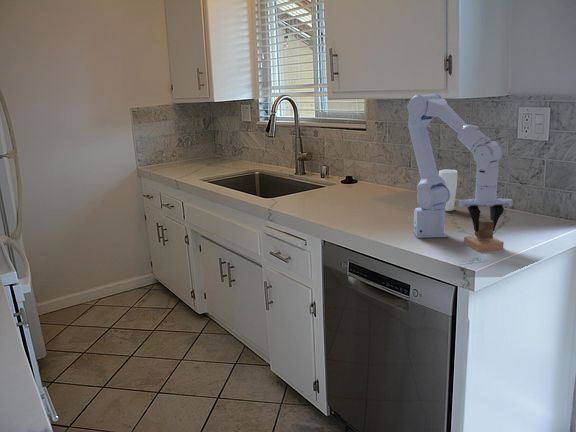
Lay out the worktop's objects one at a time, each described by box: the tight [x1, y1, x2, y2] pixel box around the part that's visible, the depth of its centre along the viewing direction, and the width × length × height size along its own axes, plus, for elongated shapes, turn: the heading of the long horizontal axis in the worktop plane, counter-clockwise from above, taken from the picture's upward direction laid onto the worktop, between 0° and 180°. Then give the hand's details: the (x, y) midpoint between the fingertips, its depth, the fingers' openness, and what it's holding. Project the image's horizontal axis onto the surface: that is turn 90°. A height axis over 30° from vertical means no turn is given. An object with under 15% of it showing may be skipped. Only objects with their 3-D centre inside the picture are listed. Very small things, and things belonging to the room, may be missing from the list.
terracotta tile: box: [463, 235, 504, 252], centre depth 152 cm, size 8×8×2 cm
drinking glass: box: [438, 168, 458, 212], centre depth 194 cm, size 7×7×15 cm
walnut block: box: [474, 218, 494, 239], centre depth 151 cm, size 4×4×5 cm
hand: (483, 230), depth 151 cm, fingers closed on walnut block, 4 cm apart
